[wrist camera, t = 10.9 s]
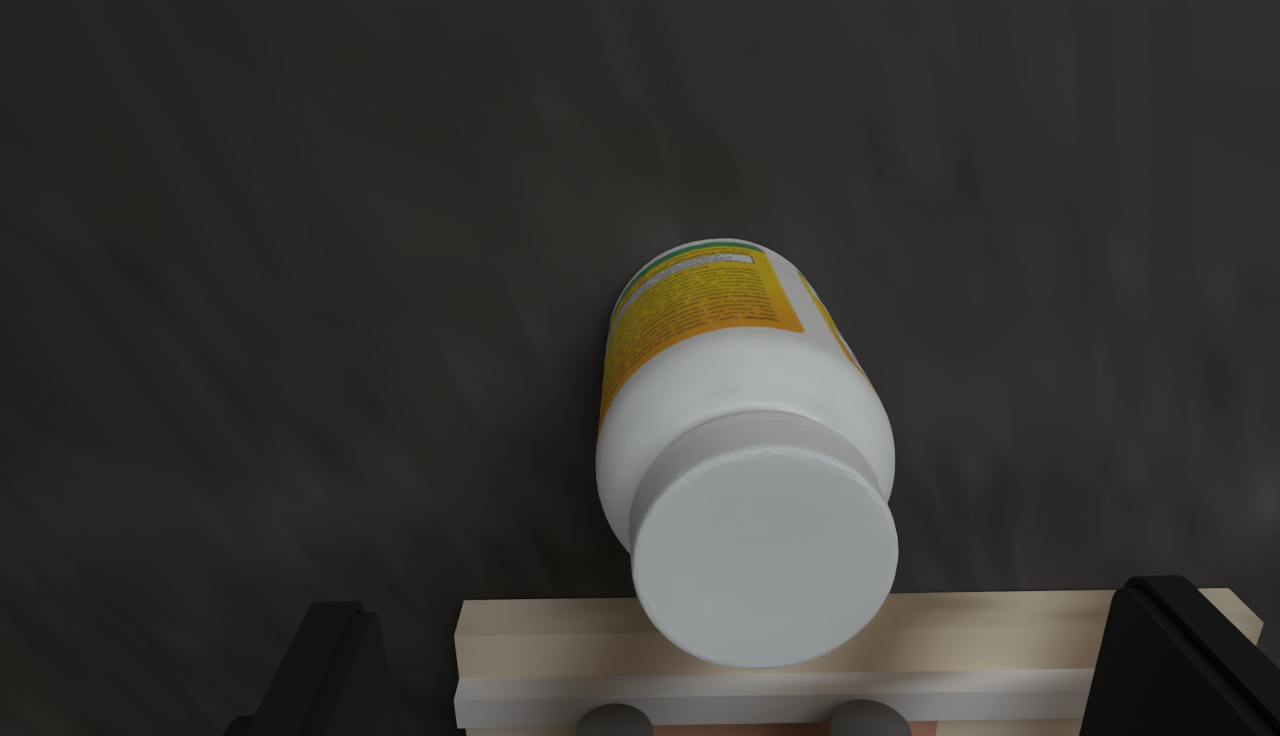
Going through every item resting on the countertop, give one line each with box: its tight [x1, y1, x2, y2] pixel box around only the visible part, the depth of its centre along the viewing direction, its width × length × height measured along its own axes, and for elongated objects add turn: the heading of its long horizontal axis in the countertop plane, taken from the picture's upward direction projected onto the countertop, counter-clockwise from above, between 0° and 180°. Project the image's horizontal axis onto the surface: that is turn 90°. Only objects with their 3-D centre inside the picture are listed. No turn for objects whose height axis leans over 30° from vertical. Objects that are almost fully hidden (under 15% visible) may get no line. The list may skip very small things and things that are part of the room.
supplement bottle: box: [596, 239, 898, 670], centre depth 17 cm, size 5×5×10 cm
